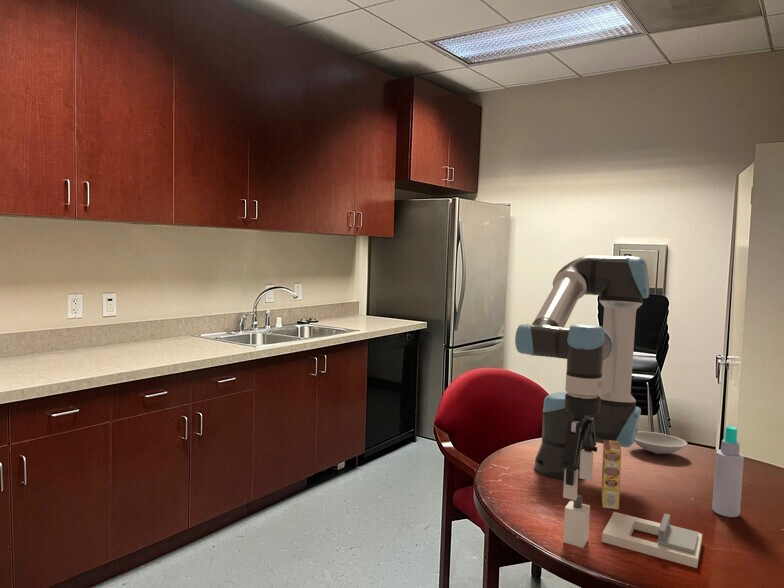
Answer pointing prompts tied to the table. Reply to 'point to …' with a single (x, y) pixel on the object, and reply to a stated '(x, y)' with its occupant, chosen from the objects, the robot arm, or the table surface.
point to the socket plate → (621, 533)
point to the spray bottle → (728, 476)
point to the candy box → (611, 474)
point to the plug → (576, 523)
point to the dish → (659, 442)
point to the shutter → (676, 536)
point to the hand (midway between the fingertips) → (578, 488)
